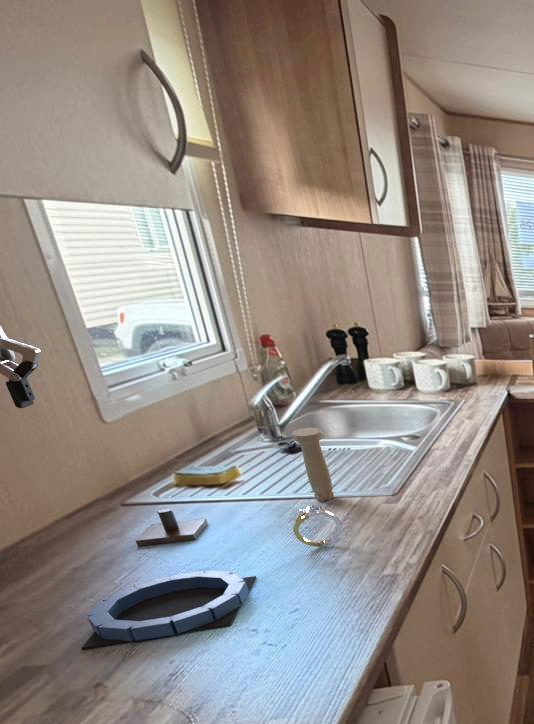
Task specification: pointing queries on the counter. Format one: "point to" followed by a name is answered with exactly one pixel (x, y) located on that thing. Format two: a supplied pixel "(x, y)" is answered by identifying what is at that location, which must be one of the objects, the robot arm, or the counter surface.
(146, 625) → the ring
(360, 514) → the counter surface
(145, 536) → the dowel stand
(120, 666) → the counter surface
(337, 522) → the ring
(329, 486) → the handle
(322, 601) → the counter surface
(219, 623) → the mat
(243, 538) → the counter surface
